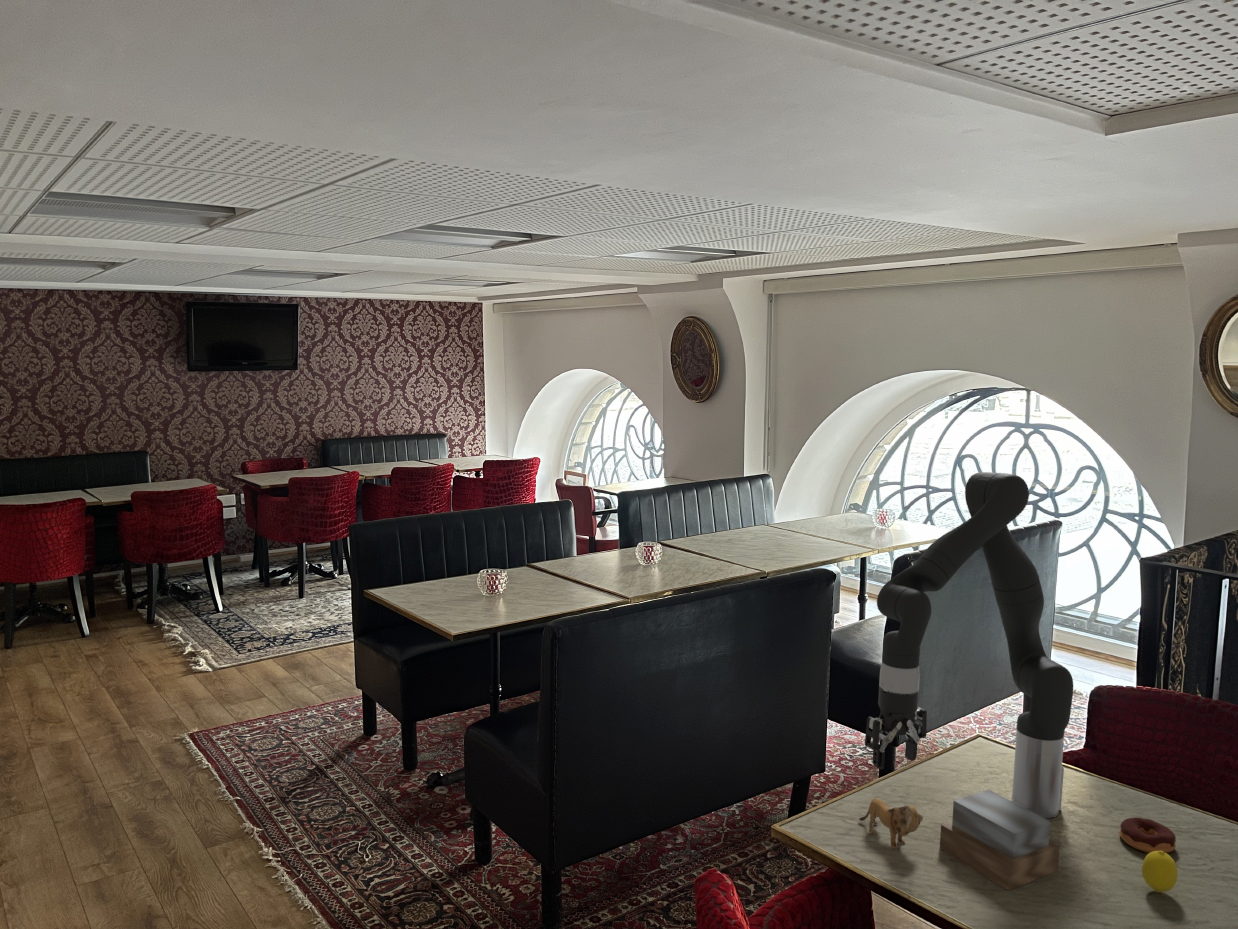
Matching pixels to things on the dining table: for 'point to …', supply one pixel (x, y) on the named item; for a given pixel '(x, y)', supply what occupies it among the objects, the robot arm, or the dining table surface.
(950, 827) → the two-tone block
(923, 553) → the robot arm
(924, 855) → the dining table surface
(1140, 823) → the donut
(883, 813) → the lion figurine
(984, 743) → the dining table surface
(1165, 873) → the lemon
